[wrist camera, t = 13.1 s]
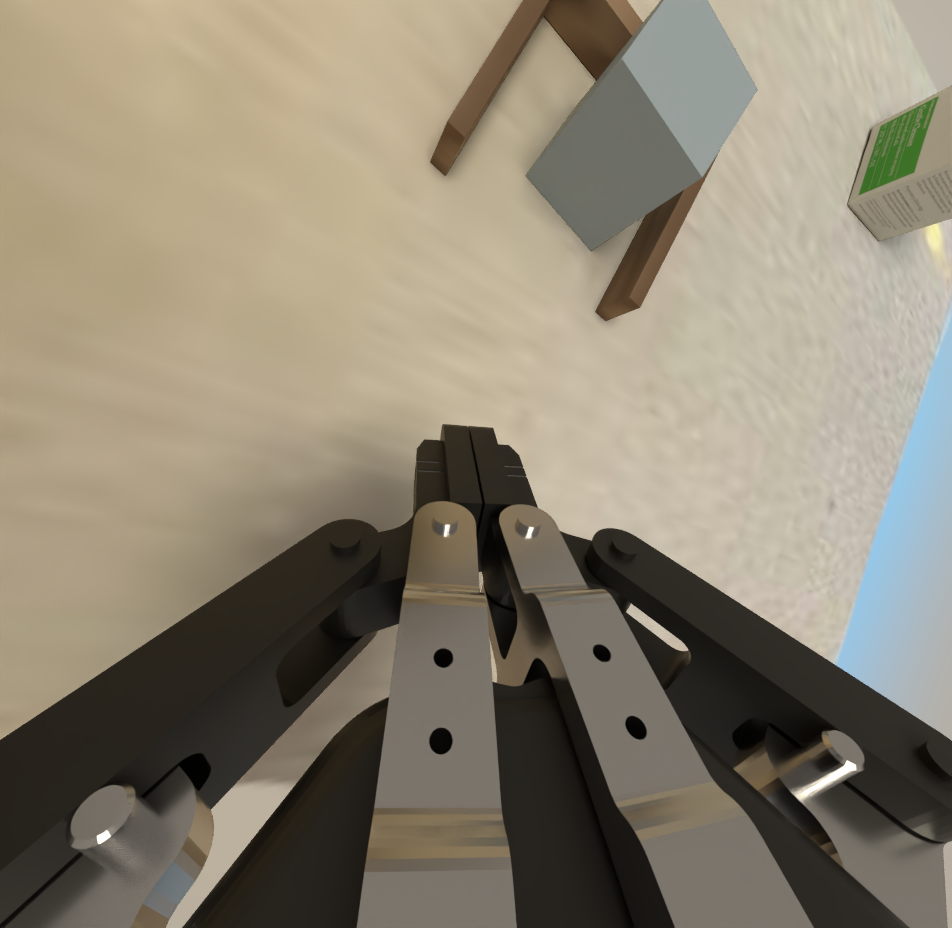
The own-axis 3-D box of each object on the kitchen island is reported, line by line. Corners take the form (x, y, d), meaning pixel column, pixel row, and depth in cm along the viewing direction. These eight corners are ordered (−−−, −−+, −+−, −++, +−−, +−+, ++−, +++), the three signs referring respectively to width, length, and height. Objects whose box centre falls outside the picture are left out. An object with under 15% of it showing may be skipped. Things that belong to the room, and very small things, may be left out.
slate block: (525, 176, 23) (621, 58, 16) (575, 107, 24) (688, -34, 17) (590, 251, 26) (702, 177, 18) (634, 185, 27) (757, 89, 19)
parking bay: (430, 161, 21) (447, 121, 18) (540, -16, 23) (571, -77, 20) (605, 320, 26) (639, 307, 24) (685, 166, 28) (726, 137, 25)
